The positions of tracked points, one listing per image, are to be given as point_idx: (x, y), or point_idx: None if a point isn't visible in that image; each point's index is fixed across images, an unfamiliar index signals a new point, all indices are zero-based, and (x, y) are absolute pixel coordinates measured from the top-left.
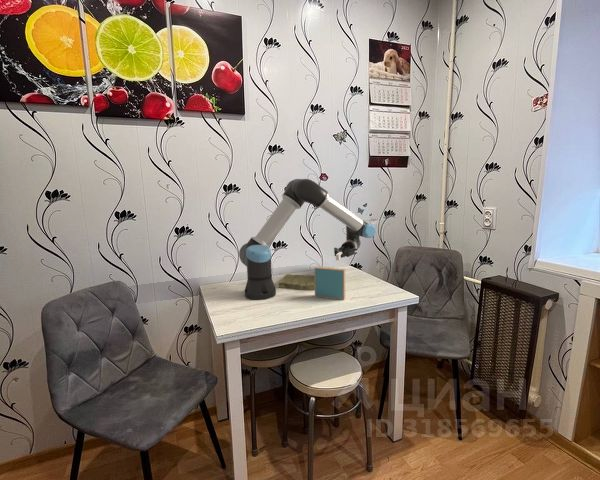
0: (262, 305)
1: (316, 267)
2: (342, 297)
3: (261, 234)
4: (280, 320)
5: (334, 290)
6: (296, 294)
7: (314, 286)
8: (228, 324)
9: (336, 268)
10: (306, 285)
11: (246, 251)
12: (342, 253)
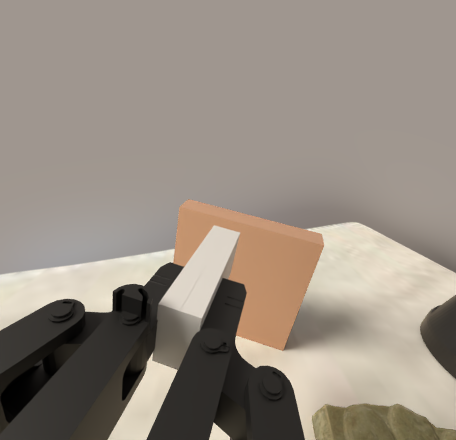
0: (391, 287)
1: (316, 236)
2: None
3: None
4: None
5: None
6: (363, 359)
7: (323, 407)
8: (374, 237)
9: (220, 215)
10: (367, 405)
11: None
12: (156, 310)
